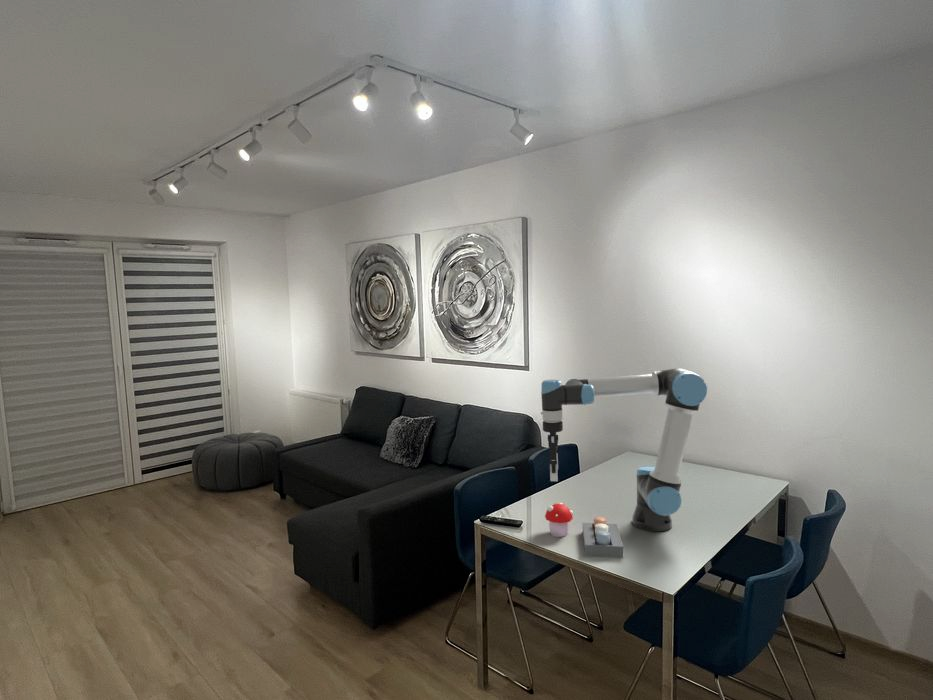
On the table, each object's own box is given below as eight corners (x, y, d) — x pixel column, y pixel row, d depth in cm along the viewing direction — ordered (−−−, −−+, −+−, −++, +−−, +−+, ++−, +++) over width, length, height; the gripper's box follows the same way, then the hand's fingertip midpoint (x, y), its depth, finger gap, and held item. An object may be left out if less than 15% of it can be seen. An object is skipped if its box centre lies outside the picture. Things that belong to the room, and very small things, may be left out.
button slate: (609, 543, 195) (609, 531, 195) (610, 548, 190) (610, 536, 190) (596, 542, 196) (595, 530, 195) (597, 548, 191) (596, 536, 191)
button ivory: (607, 535, 201) (607, 523, 201) (609, 540, 197) (608, 529, 196) (594, 534, 202) (594, 523, 202) (595, 540, 197) (595, 528, 197)
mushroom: (569, 527, 216) (569, 498, 215) (576, 539, 205) (575, 508, 204) (543, 528, 215) (542, 499, 214) (548, 540, 204) (548, 509, 203)
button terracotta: (606, 528, 208) (606, 517, 207) (607, 533, 203) (607, 522, 203) (593, 527, 208) (593, 516, 208) (594, 533, 204) (594, 521, 203)
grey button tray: (616, 533, 208) (616, 523, 208) (623, 557, 189) (623, 546, 188) (582, 532, 210) (582, 522, 210) (585, 555, 191) (585, 545, 190)
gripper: (543, 414, 216) (545, 465, 218) (541, 428, 192) (543, 485, 194) (562, 413, 215) (564, 465, 217) (562, 428, 191) (564, 486, 192)
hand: (554, 475), depth 205 cm, fingers open, 13 cm apart
